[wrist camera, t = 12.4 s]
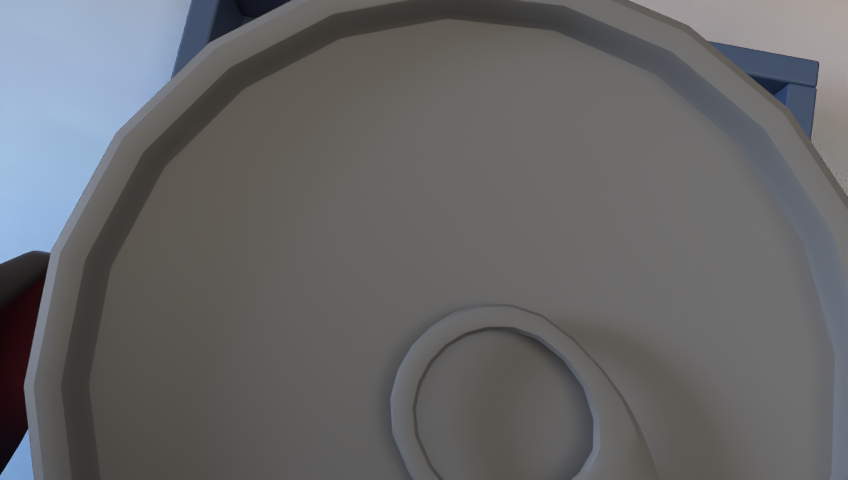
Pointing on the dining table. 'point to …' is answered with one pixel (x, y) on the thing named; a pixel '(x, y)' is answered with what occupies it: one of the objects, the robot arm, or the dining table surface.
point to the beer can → (450, 261)
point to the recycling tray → (779, 74)
